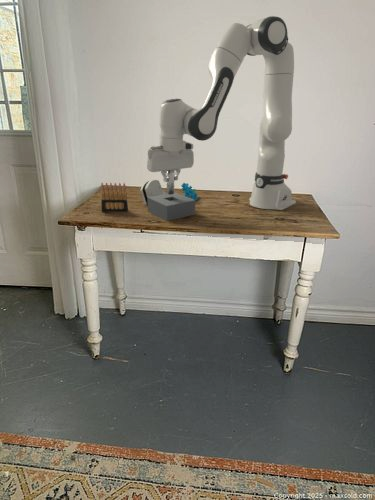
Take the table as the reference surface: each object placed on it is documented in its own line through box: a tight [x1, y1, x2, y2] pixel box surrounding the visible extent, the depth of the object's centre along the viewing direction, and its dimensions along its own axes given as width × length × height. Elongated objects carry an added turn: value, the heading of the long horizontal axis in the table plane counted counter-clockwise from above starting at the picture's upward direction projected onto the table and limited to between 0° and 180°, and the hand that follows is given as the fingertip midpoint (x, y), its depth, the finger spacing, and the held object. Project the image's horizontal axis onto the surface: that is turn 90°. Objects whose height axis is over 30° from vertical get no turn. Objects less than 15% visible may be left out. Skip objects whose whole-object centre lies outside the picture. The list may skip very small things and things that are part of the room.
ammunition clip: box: [100, 182, 129, 213], centre depth 141 cm, size 11×2×12 cm, turn 94°
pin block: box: [147, 191, 196, 222], centre depth 142 cm, size 14×14×6 cm
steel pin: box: [166, 170, 176, 195], centre depth 138 cm, size 3×3×10 cm
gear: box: [181, 182, 199, 202], centre depth 161 cm, size 11×6×10 cm
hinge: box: [139, 179, 167, 206], centre depth 158 cm, size 17×5×10 cm, turn 164°
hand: (170, 180), depth 138 cm, fingers closed on steel pin, 3 cm apart
